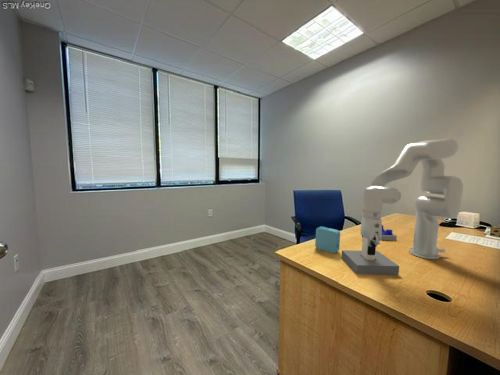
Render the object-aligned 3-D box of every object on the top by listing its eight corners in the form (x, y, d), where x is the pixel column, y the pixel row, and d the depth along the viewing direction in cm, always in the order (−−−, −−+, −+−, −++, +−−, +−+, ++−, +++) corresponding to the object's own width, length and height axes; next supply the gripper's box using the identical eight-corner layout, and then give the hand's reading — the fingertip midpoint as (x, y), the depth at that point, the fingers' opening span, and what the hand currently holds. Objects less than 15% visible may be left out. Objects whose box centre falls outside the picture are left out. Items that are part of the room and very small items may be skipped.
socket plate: (377, 258, 107) (377, 250, 107) (398, 274, 91) (399, 266, 91) (341, 257, 107) (341, 250, 107) (356, 274, 91) (357, 265, 91)
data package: (339, 251, 115) (340, 230, 113) (335, 254, 112) (337, 232, 110) (318, 245, 123) (319, 225, 122) (314, 247, 120) (315, 227, 119)
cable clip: (374, 233, 148) (375, 224, 148) (381, 233, 148) (382, 224, 147) (384, 239, 136) (385, 230, 136) (391, 239, 136) (392, 230, 135)
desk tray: (380, 231, 151) (380, 227, 151) (396, 240, 133) (396, 235, 133) (366, 231, 151) (366, 227, 151) (381, 240, 134) (381, 235, 133)
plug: (369, 258, 101) (371, 233, 100) (374, 262, 97) (376, 236, 96) (361, 258, 101) (363, 233, 100) (365, 261, 97) (367, 236, 96)
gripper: (391, 219, 88) (387, 260, 90) (369, 210, 105) (366, 246, 107) (373, 218, 88) (370, 260, 90) (354, 210, 105) (352, 245, 107)
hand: (368, 252), depth 98 cm, fingers closed on plug, 4 cm apart
